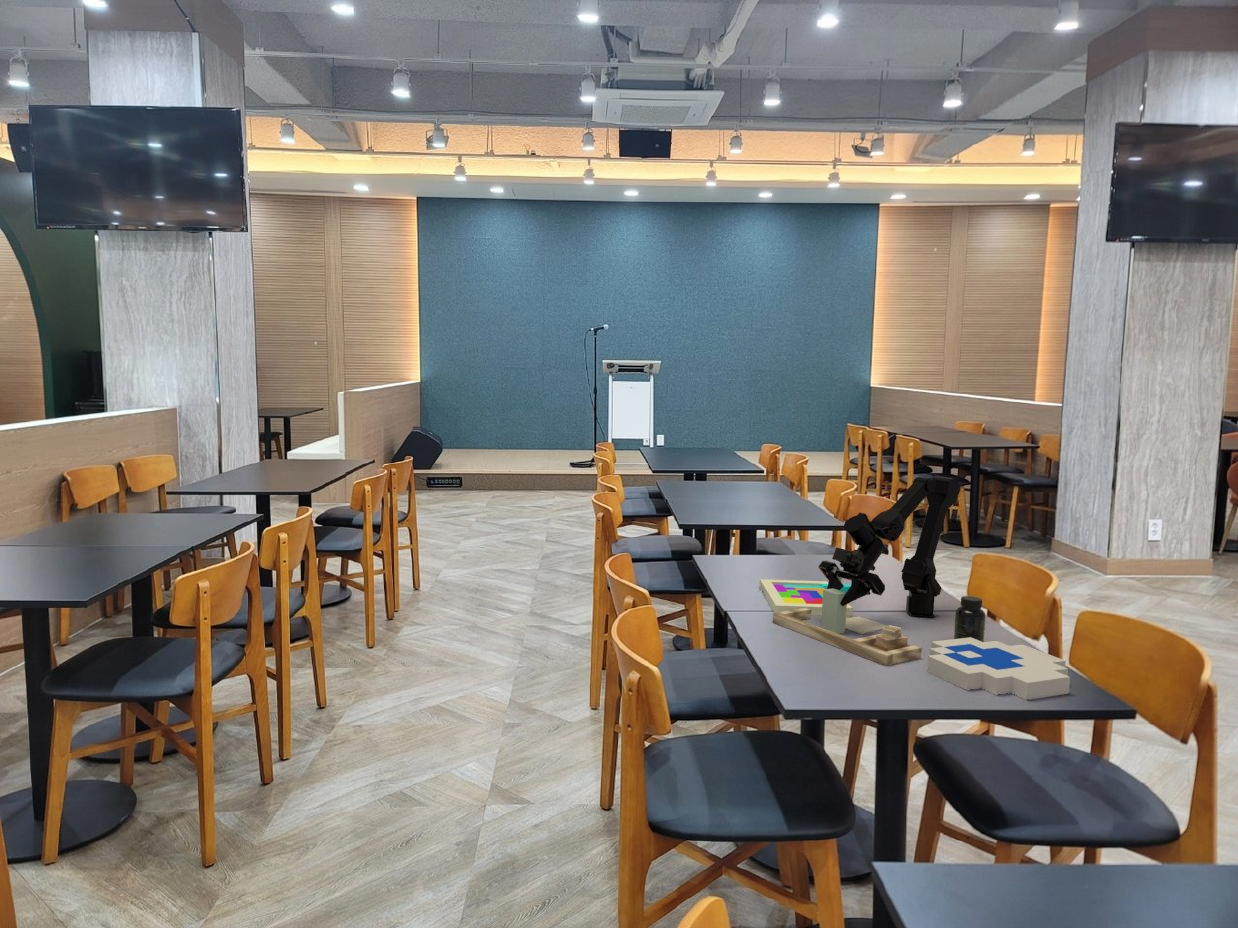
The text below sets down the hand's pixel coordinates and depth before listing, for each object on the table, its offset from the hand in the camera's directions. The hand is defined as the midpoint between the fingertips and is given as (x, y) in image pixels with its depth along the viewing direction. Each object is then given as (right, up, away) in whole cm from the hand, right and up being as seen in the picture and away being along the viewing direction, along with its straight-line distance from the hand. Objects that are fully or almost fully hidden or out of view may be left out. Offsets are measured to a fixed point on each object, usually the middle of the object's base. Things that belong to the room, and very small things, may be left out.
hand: (833, 602), depth 217 cm
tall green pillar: (0, -8, +1) cm, 8 cm away
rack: (+1, -8, -6) cm, 10 cm away
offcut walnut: (+10, -10, -15) cm, 21 cm away
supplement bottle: (+31, -10, -8) cm, 34 cm away
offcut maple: (+10, -6, -16) cm, 19 cm away
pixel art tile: (+29, -12, -28) cm, 42 cm away
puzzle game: (+3, -5, +30) cm, 30 cm away
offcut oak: (+10, -8, -15) cm, 20 cm away
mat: (+9, -7, +6) cm, 13 cm away
